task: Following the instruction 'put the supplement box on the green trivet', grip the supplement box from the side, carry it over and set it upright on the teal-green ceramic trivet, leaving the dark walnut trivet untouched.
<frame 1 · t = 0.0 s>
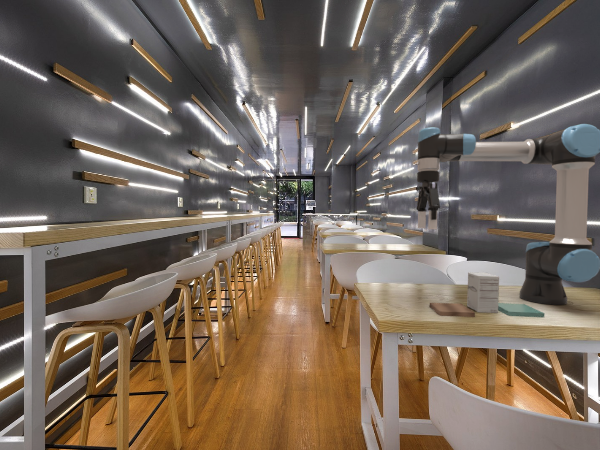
hand: (426, 228, 119), 28 cm above the table, tool pointing down, fingers open, 13 cm apart
walnut trivet: (450, 313, 110), on the table
supplement box: (482, 310, 113), on the table
green trivet: (516, 313, 111), on the table
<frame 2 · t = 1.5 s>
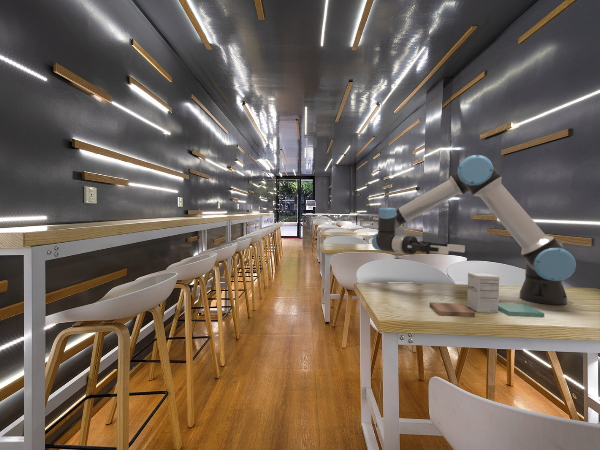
hand: (456, 249, 120), 20 cm above the table, tool horizontal, fingers open, 13 cm apart
nothing on the table moved.
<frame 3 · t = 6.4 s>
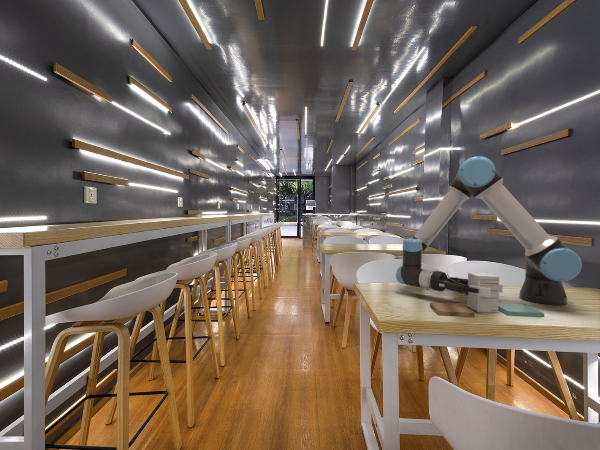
hand: (496, 290, 110), 8 cm above the table, tool horizontal, fingers closed on supplement box, 10 cm apart
supplement box: (482, 310, 113), on the table, touching gripper
everything else where it was.
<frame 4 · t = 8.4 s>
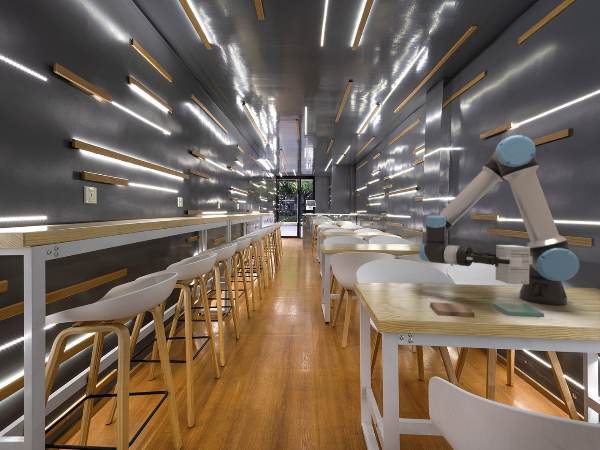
hand: (527, 261, 108), 18 cm above the table, tool horizontal, fingers closed on supplement box, 10 cm apart
supplement box: (511, 282, 111), point 10 cm above the table, touching gripper
everything else where it was.
when the fingers open (11 cm above the table, at t = 10.8 s): supplement box drops 2 cm, point 1 cm above the table.
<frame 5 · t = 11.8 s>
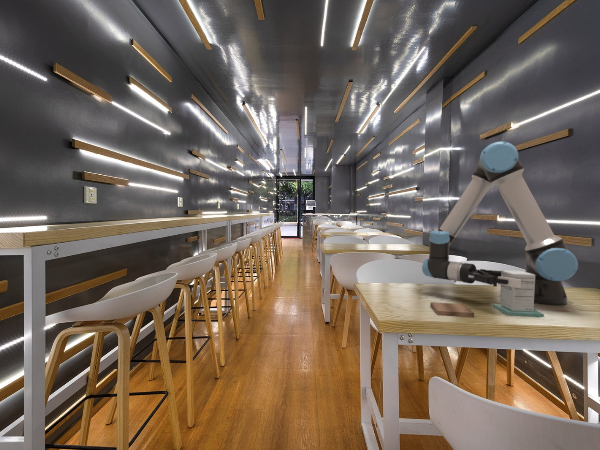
hand: (527, 281, 109), 11 cm above the table, tool horizontal, fingers open, 13 cm apart
supplement box: (516, 308, 111), point 1 cm above the table
everything else where it was.
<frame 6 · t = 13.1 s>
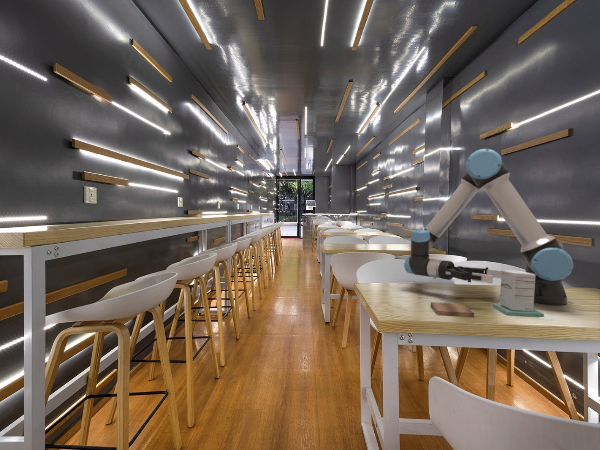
hand: (499, 277, 115), 11 cm above the table, tool horizontal, fingers open, 13 cm apart
supplement box: (515, 308, 111), point 1 cm above the table, touching green trivet
green trivet: (516, 314, 111), on the table, touching supplement box
everything else where it was.
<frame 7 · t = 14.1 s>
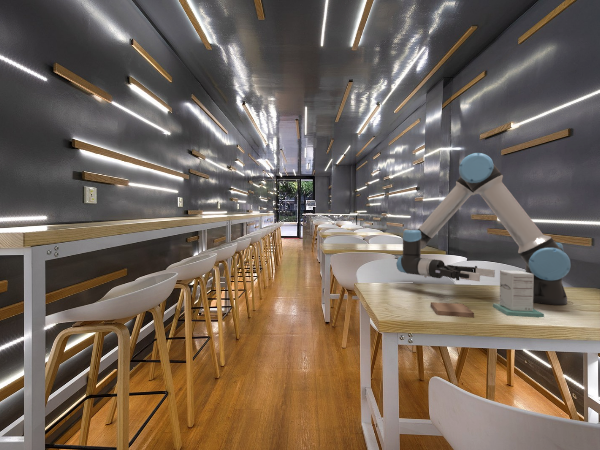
hand: (487, 275, 118), 11 cm above the table, tool horizontal, fingers open, 13 cm apart
nothing on the table moved.
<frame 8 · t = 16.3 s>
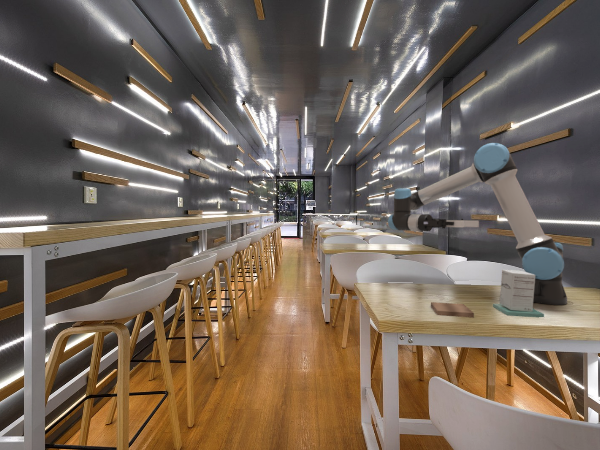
hand: (471, 223, 126), 30 cm above the table, tool horizontal, fingers open, 13 cm apart
supplement box: (515, 308, 111), point 1 cm above the table
green trivet: (516, 314, 111), on the table
everything else where it was.
at the end: supplement box inside the target area on the green trivet (0.7 cm from its centre), point 1.9 cm above the green trivet's base; supplement box tilted 1°; walnut trivet moved 0.6 cm from its start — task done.
